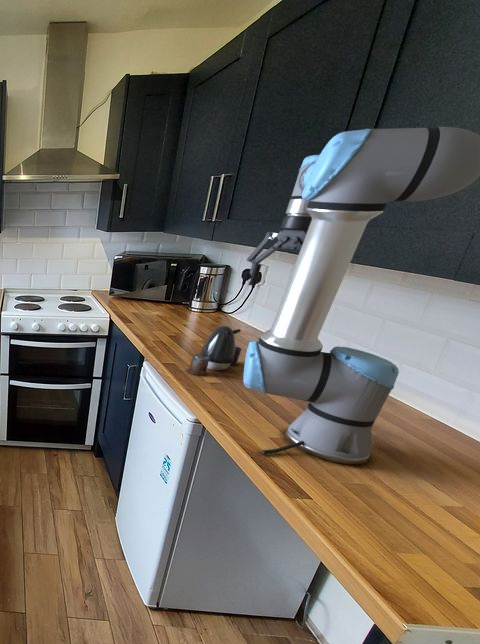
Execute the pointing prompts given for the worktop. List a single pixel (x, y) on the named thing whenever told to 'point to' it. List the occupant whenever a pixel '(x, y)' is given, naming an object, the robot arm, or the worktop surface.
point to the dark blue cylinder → (236, 356)
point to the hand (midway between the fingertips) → (275, 288)
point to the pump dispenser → (220, 348)
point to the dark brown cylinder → (199, 364)
